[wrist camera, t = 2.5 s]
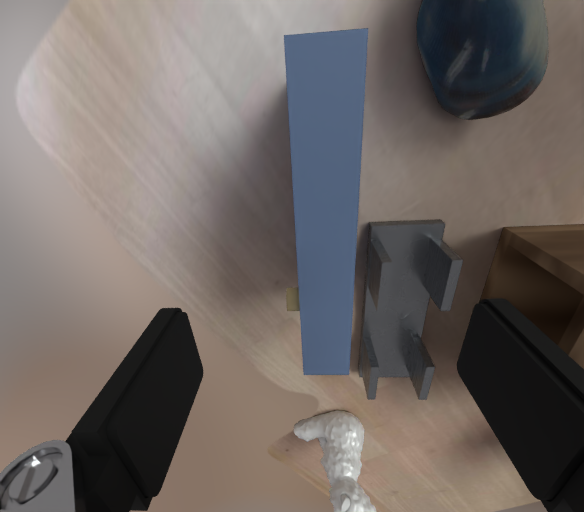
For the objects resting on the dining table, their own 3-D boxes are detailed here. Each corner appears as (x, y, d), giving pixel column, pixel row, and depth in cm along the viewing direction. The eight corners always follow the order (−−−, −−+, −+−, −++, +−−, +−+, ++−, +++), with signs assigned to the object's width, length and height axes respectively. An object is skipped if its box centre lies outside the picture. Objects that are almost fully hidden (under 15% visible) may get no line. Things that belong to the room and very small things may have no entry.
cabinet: (503, 227, 25) (627, 300, 16) (620, 222, 25) (826, 296, 15) (459, 364, 34) (522, 467, 24) (546, 363, 33) (646, 469, 23)
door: (279, 75, 21) (251, 38, 10) (335, 70, 20) (368, 28, 10) (292, 278, 29) (285, 374, 18) (332, 277, 29) (349, 374, 18)
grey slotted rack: (369, 222, 26) (382, 245, 21) (440, 219, 25) (469, 242, 21) (358, 370, 35) (365, 408, 30) (409, 370, 34) (425, 408, 30)
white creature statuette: (291, 422, 41) (286, 532, 30) (328, 393, 37) (337, 505, 27) (340, 446, 43) (351, 555, 33) (379, 420, 40) (406, 533, 29)
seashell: (491, 146, 20) (706, -51, 11) (377, 91, 19) (506, -156, 11) (489, 101, 23) (655, -79, 14) (390, 53, 23) (499, -161, 14)
